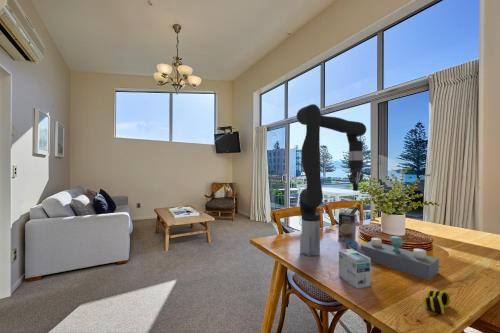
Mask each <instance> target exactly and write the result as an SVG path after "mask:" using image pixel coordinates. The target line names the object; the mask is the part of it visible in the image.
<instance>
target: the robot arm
mask: <svg viewBox="0 0 500 333" xmlns="http://www.w3.org/2000/svg"><path fill="white" fill-rule="evenodd" d="M296 119H297V121H298V123H299V124H300V125H303V126H304V125H305V127H306V130H305V131H306V132H305V137H304V140H303V143H302V146H301V150H300V151H301V152H300V153H301V166H302V169H303V172H304V175H305V178H306V187H305V188H304V189H302V190H301V192H300V195H299V209H300V210H299V211H300V212H299V213H300V215H301V234H299V236H300V237H299V240H300V241H299V253H301V254H302V255H305V256H308V257H316V256H319V255H320V253H321V252H320V250H321V215H320V213H319V211H318V208H319V207H320V206H321V205H322V203H323V199H324V197H323V195H324V194H323V188H322V187H323V186H322V180H321V179H322V178H321V146H320V144H321V143H320V141H321V140H320V139H321V138H320V137H321V136H320V132H321V131H320V129H321V128H324V129H328V130H331V131H334V132H335V131H336V132H338V133H344V134H345V135H346V137H347V138H346V139H347V142H348V162H347V164H348V169H350V170H349V173H347V178H348V180H349V182H350V184H352V191H353V192H358V191H359V185H360V183H361V182H362V179H363V177H364V175H365V174H364V173H362V169H363V168H364V152H363V151H364V145H363V144H364V143H363V141H362V140H358V137H361V136H364V135H365V134H366V133H367V127H366V125H365V124H364V123H363V122H359V121H354V120H347V119H344V118H341V117H336V116H330V115H322V113H321V108H319V106H318V104H315V103H312V104H311V103H310V104H309V105H306V106H303V107H302V108H300V109H298V111H297V112H296Z"/></svg>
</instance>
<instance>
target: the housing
mask: <svg viewBox="0 0 500 333" xmlns="http://www.w3.org/2000/svg"><path fill="white" fill-rule="evenodd" d="M359 250H361V251H363V252H364V253H365V256H367V257H370V258H371V262H374V263H377V264H380V265H383V266H384V267H388V266H389V267H388V268H391V269H394V270H397V271H401V272H403V273H406V274H408V273H409V274H408V275H412V276H415V277H418V278H420V277H421V279H423V278H424V280H427V281H430V280H432V279H433V278H434V277H435V276H437V275H438V274H439V268H440V267H439V263H440V262H439V260H440V259H439V258H438V257H433V256H430V255H426V259H425V260H421V259H417V258H415V257H413V251H412V250H408V249H403V248H400V247H399V253H396V252H394V245H389V244H384V243H382V246H381V247H375V246H372V245H371V240H370V241H368V242H365V243H362V244H360V249H359Z"/></svg>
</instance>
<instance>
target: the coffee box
mask: <svg viewBox="0 0 500 333" xmlns="http://www.w3.org/2000/svg"><path fill="white" fill-rule="evenodd" d="M356 227H357V214H356V213H348V212H342V211H341V212H339V213H338V232H337V233H338V239H337V240H338V242H345V243H346V238H348V239H349V240H351V241H353V242H355V243H356V241H357V240H356V238H357V237H356V235H357V232H356V231H357V230H356V229H357V228H356Z"/></svg>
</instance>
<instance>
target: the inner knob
mask: <svg viewBox="0 0 500 333" xmlns="http://www.w3.org/2000/svg"><path fill="white" fill-rule="evenodd" d="M370 241H371V245H372V246H375V247H381V246H382V244H383V243H382V238H379V237H371V240H370Z"/></svg>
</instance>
